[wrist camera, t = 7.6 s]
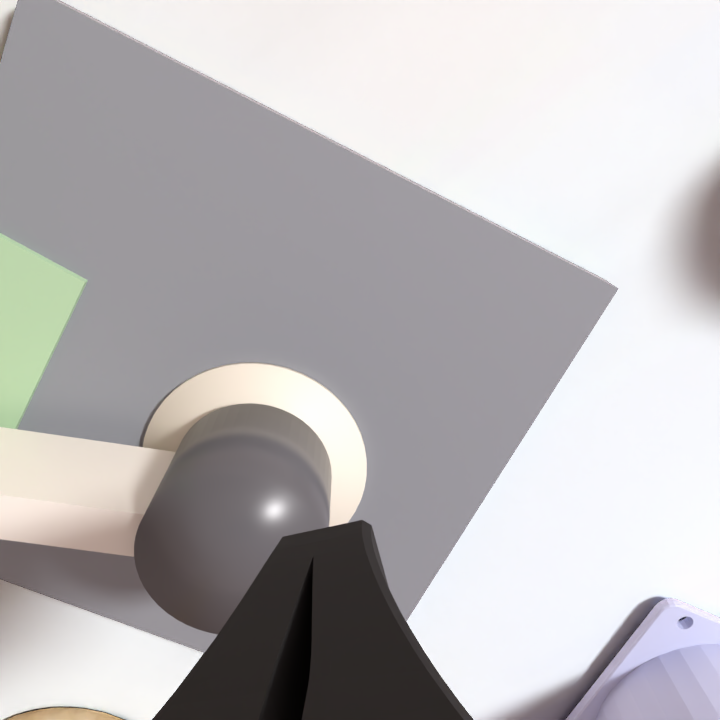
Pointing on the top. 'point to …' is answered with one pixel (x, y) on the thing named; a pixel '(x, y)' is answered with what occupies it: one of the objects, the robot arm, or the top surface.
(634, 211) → the top surface
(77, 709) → the hand bell
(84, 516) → the peg dial
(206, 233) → the board
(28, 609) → the top surface
